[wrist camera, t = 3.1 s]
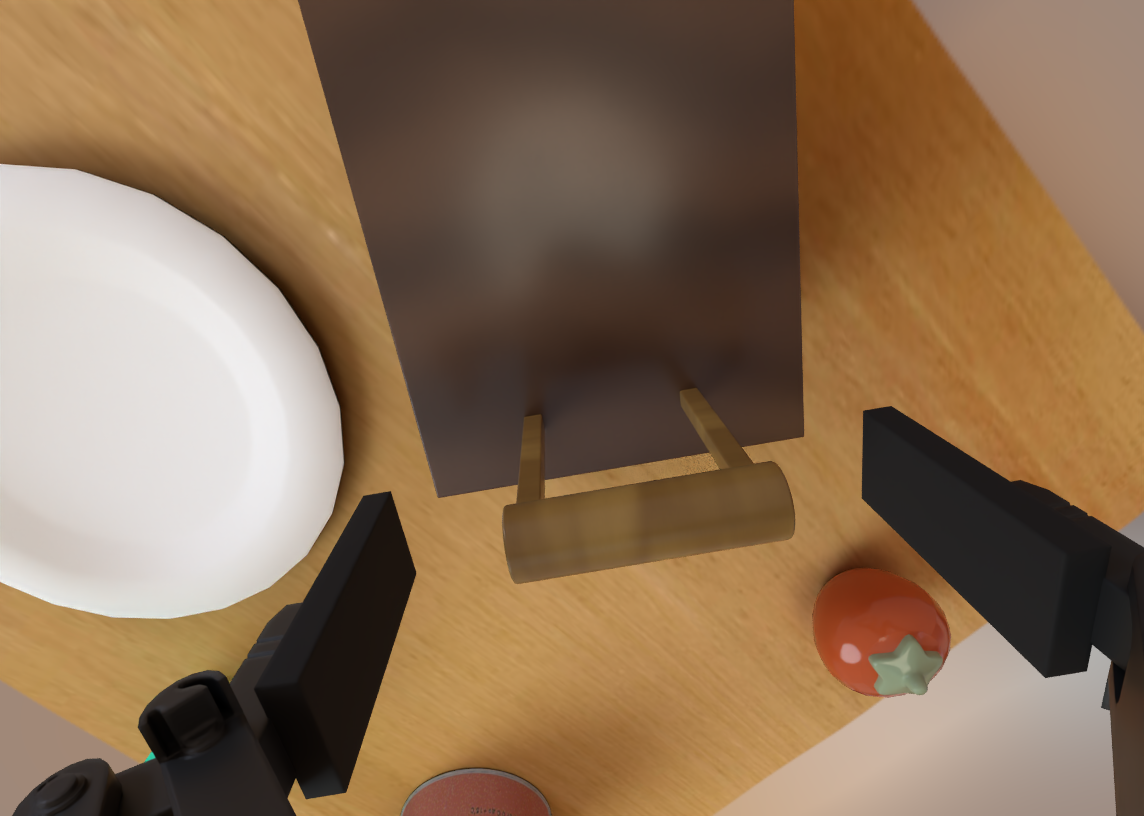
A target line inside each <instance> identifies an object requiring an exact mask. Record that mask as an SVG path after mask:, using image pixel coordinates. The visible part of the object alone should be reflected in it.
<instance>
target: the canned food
mask: <svg viewBox="0 0 1144 816" xmlns="http://www.w3.org/2000/svg"><path fill="white" fill-rule="evenodd" d="M401 816H551V811H550V807H549V805H548V803H547V801H546V799H545V798H544V796H543V795H542V794H541V793H540V792H539V791H538V790H537V789H536V788H535V787H534V786H532V785H531V784H530V783H528V782H527V781H525V780H523V779H521V778H519V777H517V776H515V775H512V774H509V773H506V772H502V771H497V770H491V769H463V770H456V771H452V772H448V773H445V774H442V775H439V776H437V777H435V778H432V779H430V780H429V781H427V782H425V783H424V784H422V785H421V786H420V787H418V788H417V789H416V790H415V791H414V792H413V793H412V794H411V795H410V796H409V798H408V799H407V801H406V803H405V805H404V807H403V809H402V813H401Z"/></svg>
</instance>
